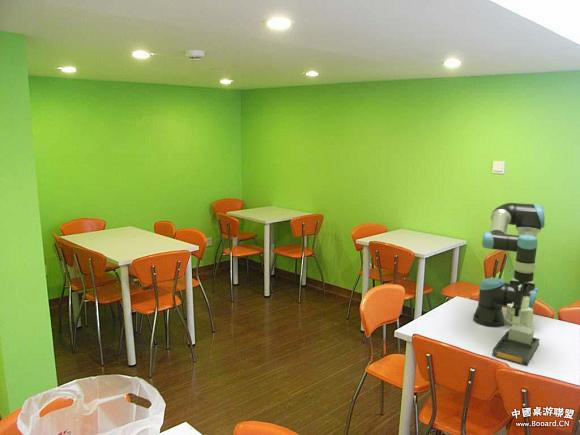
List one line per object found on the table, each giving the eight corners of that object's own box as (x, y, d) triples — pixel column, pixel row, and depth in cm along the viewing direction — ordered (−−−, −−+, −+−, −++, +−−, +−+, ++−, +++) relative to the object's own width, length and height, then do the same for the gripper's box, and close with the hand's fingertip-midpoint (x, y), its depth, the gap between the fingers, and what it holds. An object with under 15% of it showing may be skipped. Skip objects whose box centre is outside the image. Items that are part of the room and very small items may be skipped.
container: (505, 319, 202) (508, 292, 200) (521, 319, 203) (524, 292, 201) (515, 326, 195) (518, 298, 192) (531, 326, 195) (535, 298, 193)
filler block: (508, 340, 211) (509, 328, 210) (511, 335, 217) (513, 323, 216) (529, 346, 205) (530, 334, 204) (532, 340, 211) (534, 328, 210)
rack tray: (491, 356, 199) (492, 349, 198) (506, 336, 220) (507, 330, 219) (526, 366, 190) (527, 359, 190) (538, 344, 211) (539, 339, 210)
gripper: (528, 278, 183) (522, 329, 187) (538, 266, 201) (533, 313, 205) (508, 275, 188) (503, 324, 192) (520, 263, 206) (515, 309, 210)
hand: (518, 318), depth 198 cm, fingers closed on container, 10 cm apart
